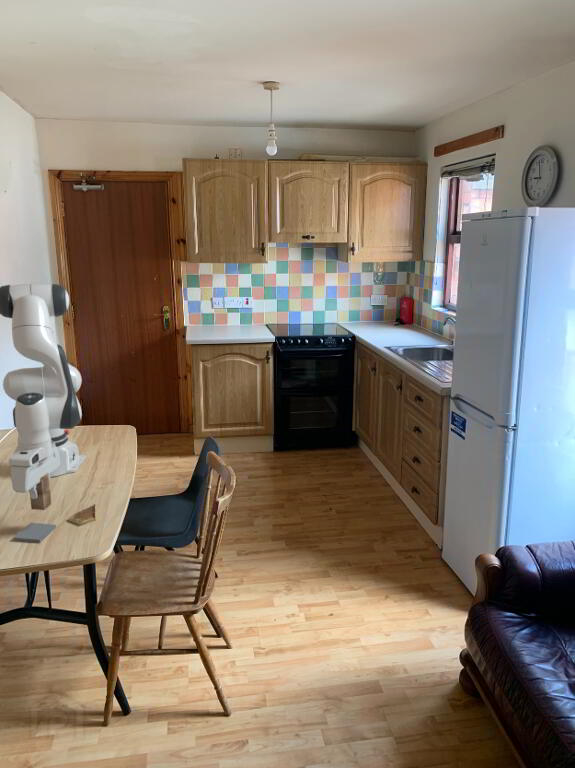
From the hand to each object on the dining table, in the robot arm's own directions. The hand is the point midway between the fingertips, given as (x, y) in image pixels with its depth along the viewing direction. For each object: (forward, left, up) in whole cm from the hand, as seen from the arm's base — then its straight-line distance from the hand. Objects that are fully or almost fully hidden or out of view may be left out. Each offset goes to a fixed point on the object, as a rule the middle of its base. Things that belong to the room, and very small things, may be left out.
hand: (40, 493), depth 172 cm
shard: (-7, +9, -11) cm, 16 cm away
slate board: (0, 0, -10) cm, 10 cm away
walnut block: (0, 0, -4) cm, 4 cm away
